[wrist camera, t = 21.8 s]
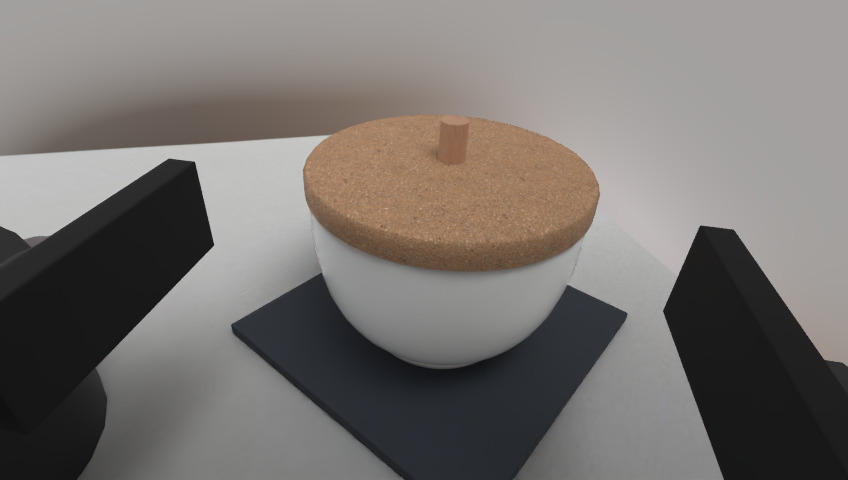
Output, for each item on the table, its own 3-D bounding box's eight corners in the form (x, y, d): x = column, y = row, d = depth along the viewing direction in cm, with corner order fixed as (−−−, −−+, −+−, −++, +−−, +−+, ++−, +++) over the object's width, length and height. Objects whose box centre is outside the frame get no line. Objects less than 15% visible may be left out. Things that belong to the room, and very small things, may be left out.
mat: (625, 320, 23) (628, 312, 23) (472, 537, 15) (474, 529, 14) (420, 222, 30) (420, 215, 30) (232, 332, 21) (230, 324, 21)
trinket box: (376, 234, 28) (375, 65, 22) (566, 278, 25) (615, 99, 20) (268, 369, 19) (226, 148, 14) (539, 458, 16) (612, 226, 11)
